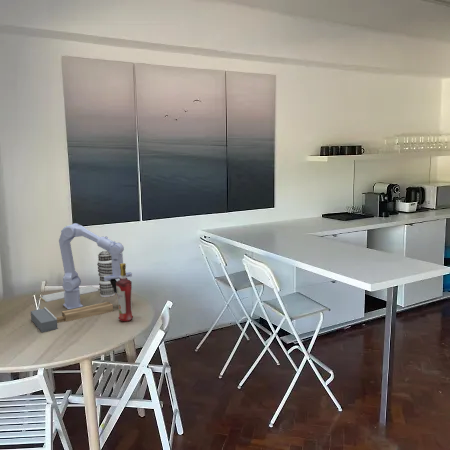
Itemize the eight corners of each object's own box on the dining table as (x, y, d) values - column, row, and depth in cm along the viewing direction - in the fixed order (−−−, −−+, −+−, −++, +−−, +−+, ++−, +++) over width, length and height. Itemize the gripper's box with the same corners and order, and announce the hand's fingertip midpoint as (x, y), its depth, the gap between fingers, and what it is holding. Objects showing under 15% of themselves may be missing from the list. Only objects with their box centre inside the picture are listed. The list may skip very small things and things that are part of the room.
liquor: (115, 320, 229) (111, 264, 224) (127, 316, 234) (124, 261, 229) (123, 323, 224) (120, 266, 219) (136, 319, 229) (133, 263, 224)
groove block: (31, 319, 231) (30, 309, 230) (45, 316, 235) (45, 307, 234) (42, 332, 215) (41, 321, 214) (57, 328, 219) (56, 318, 218)
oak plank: (54, 320, 231) (53, 313, 230) (108, 308, 247) (108, 301, 246) (57, 323, 226) (57, 316, 225) (113, 311, 242) (112, 304, 241)
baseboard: (99, 292, 276) (91, 287, 285) (99, 287, 275) (91, 283, 284) (46, 303, 257) (39, 298, 266) (45, 298, 256) (38, 293, 265)
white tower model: (96, 297, 265) (93, 253, 261) (102, 292, 274) (100, 250, 270) (112, 297, 264) (109, 253, 260) (118, 292, 273) (115, 250, 269)
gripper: (107, 270, 236) (108, 296, 238) (133, 265, 244) (135, 291, 247) (101, 267, 242) (103, 293, 244) (128, 263, 250) (129, 288, 252)
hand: (119, 292), depth 246 cm, fingers open, 3 cm apart
